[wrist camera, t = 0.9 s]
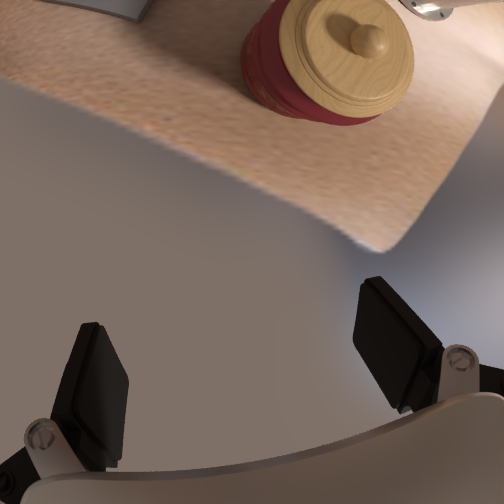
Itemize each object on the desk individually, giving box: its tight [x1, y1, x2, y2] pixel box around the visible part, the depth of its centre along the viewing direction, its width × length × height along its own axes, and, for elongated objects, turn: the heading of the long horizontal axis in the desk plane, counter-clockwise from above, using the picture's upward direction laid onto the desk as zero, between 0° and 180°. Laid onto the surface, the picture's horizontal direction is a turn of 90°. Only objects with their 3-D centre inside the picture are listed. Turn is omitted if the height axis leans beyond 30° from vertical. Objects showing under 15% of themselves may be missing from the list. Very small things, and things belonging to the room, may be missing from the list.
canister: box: [241, 0, 414, 126], centre depth 22 cm, size 13×13×18 cm
